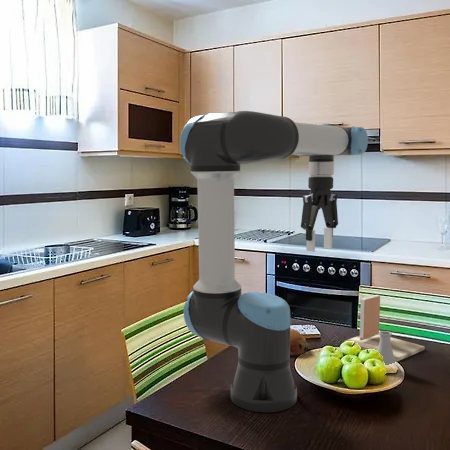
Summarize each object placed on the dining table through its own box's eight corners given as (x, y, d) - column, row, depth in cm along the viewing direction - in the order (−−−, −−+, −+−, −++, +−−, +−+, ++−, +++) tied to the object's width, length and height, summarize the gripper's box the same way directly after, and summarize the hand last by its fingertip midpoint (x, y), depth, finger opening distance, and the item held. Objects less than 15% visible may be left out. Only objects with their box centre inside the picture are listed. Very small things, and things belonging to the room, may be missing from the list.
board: (397, 361, 140) (397, 357, 140) (343, 344, 154) (343, 340, 154) (424, 349, 149) (424, 346, 149) (371, 334, 163) (371, 331, 163)
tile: (363, 341, 152) (364, 299, 151) (359, 339, 153) (360, 299, 152) (379, 335, 157) (380, 295, 156) (375, 334, 158) (376, 294, 157)
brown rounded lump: (293, 355, 155) (285, 329, 157) (317, 349, 148) (308, 322, 150) (270, 363, 149) (262, 335, 151) (294, 357, 141) (285, 328, 143)
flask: (395, 365, 138) (396, 328, 137) (401, 375, 131) (403, 337, 129) (367, 364, 138) (368, 327, 137) (372, 374, 131) (373, 336, 130)
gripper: (332, 175, 167) (330, 245, 170) (288, 176, 154) (287, 251, 157) (351, 176, 161) (349, 248, 164) (308, 176, 148) (306, 254, 151)
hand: (319, 249), depth 160 cm, fingers open, 8 cm apart
